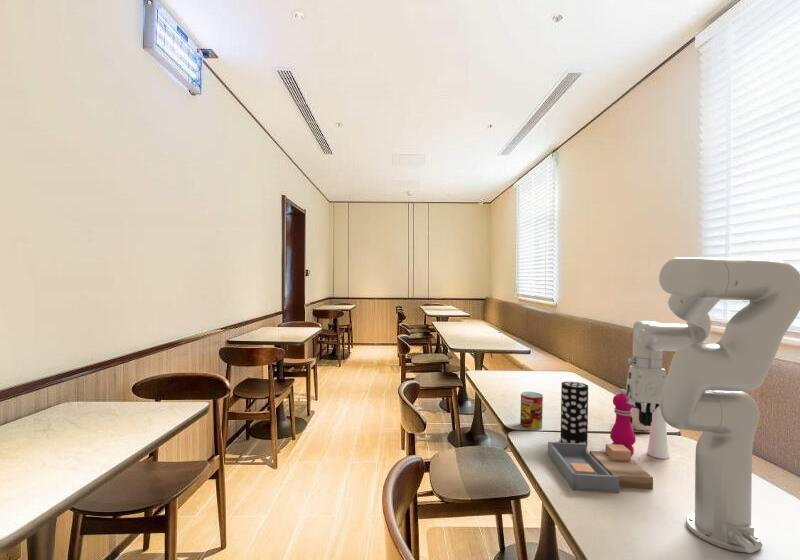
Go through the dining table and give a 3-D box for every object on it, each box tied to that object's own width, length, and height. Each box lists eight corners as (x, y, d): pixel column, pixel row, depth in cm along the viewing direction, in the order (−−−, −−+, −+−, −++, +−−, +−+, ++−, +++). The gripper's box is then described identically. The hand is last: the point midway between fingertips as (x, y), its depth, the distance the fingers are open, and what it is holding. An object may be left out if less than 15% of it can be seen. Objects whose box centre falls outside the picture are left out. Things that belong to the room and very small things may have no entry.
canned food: (516, 423, 155) (516, 392, 155) (533, 422, 157) (534, 391, 157) (528, 430, 147) (529, 397, 148) (546, 428, 150) (547, 396, 150)
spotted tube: (559, 445, 134) (560, 385, 134) (561, 437, 141) (562, 380, 142) (586, 451, 130) (587, 388, 130) (588, 442, 138) (588, 383, 138)
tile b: (631, 460, 117) (631, 451, 117) (613, 459, 117) (613, 450, 117) (622, 453, 122) (622, 444, 122) (605, 452, 122) (605, 443, 122)
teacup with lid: (621, 421, 160) (622, 392, 160) (647, 424, 157) (648, 394, 157) (630, 432, 148) (630, 400, 148) (658, 435, 146) (658, 403, 146)
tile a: (576, 470, 109) (575, 480, 109) (595, 472, 108) (595, 481, 108) (570, 462, 114) (569, 471, 114) (588, 463, 113) (588, 472, 113)
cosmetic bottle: (654, 449, 132) (655, 382, 133) (673, 457, 127) (674, 387, 127) (642, 452, 130) (643, 384, 130) (661, 460, 124) (662, 388, 125)
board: (653, 488, 106) (653, 477, 106) (613, 486, 107) (614, 475, 107) (623, 462, 122) (623, 452, 122) (589, 460, 123) (589, 450, 123)
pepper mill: (638, 456, 127) (639, 392, 127) (613, 454, 128) (614, 391, 128) (630, 447, 134) (631, 387, 134) (607, 445, 135) (608, 385, 135)
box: (619, 492, 104) (619, 477, 104) (573, 490, 105) (573, 474, 105) (585, 456, 126) (585, 443, 126) (547, 454, 127) (548, 441, 127)
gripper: (627, 364, 116) (625, 428, 116) (681, 366, 115) (679, 430, 115) (615, 359, 124) (613, 418, 124) (665, 361, 123) (664, 421, 123)
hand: (645, 424), depth 120 cm, fingers closed
